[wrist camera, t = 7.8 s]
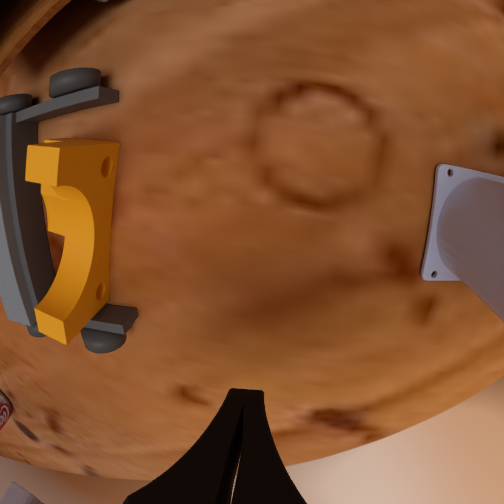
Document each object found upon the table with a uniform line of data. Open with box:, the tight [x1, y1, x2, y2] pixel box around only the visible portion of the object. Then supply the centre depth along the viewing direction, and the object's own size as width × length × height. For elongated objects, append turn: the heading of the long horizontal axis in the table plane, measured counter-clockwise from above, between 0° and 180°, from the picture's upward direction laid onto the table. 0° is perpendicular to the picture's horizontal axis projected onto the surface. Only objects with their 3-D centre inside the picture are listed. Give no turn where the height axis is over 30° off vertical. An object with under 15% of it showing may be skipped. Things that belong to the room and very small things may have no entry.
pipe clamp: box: [25, 138, 120, 345], centre depth 17 cm, size 12×4×6 cm, turn 167°
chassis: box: [0, 68, 138, 353], centre depth 18 cm, size 13×19×4 cm
